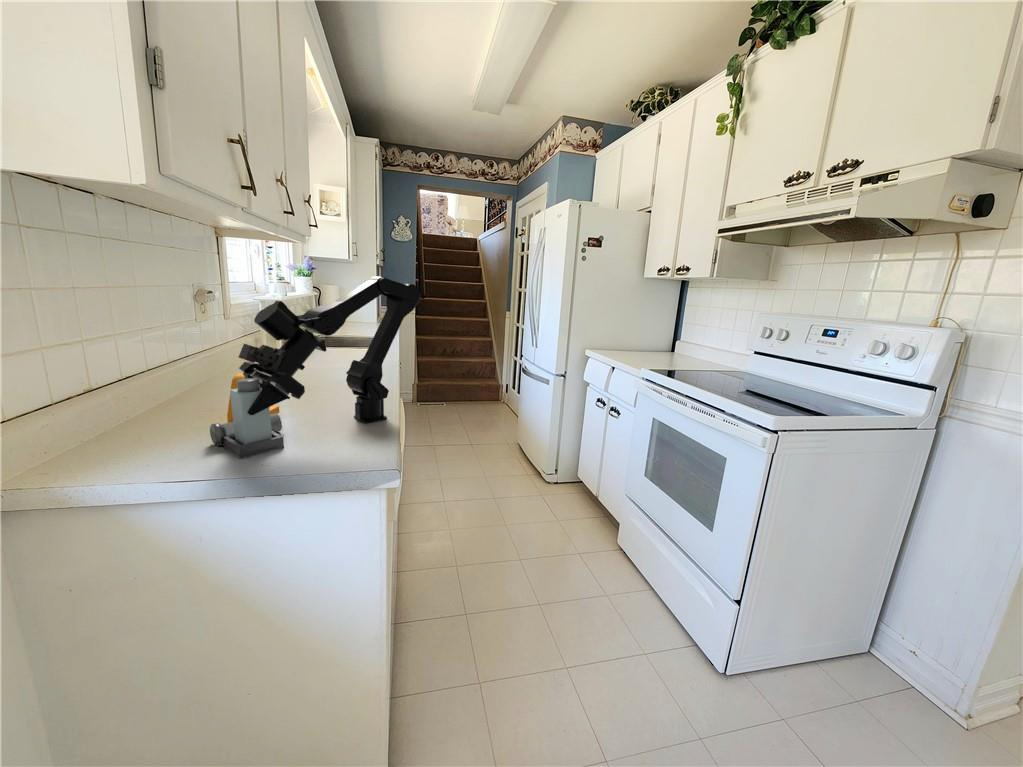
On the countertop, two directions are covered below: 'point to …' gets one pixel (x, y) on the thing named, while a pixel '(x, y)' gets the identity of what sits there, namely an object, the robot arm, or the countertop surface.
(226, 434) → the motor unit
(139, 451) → the countertop surface
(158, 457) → the countertop surface
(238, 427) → the grey capped bottle
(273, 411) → the bracket
